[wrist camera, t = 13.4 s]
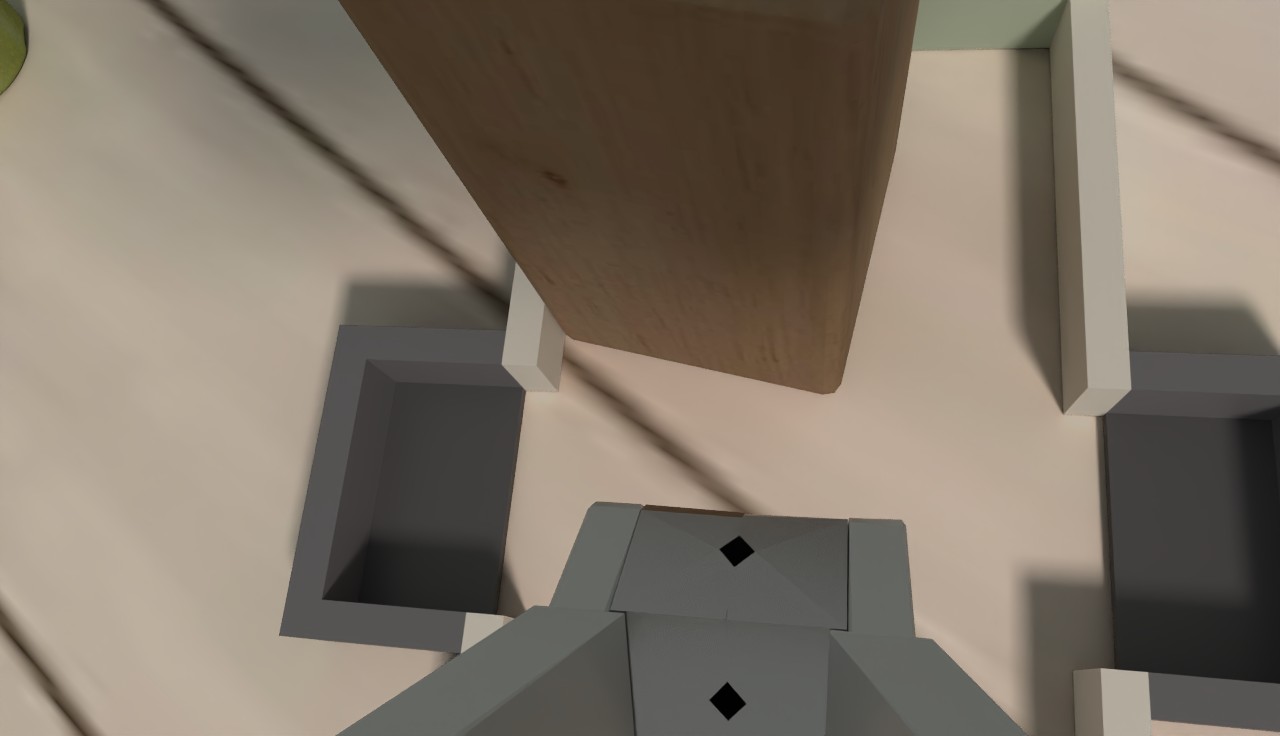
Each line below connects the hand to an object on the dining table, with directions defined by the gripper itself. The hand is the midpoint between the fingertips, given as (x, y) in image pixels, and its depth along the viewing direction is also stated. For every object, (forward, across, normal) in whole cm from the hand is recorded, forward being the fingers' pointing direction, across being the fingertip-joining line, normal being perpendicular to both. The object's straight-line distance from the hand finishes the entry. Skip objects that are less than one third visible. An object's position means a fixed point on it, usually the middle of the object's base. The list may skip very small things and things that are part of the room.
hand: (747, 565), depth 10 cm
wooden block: (+26, +3, +6) cm, 27 cm away
